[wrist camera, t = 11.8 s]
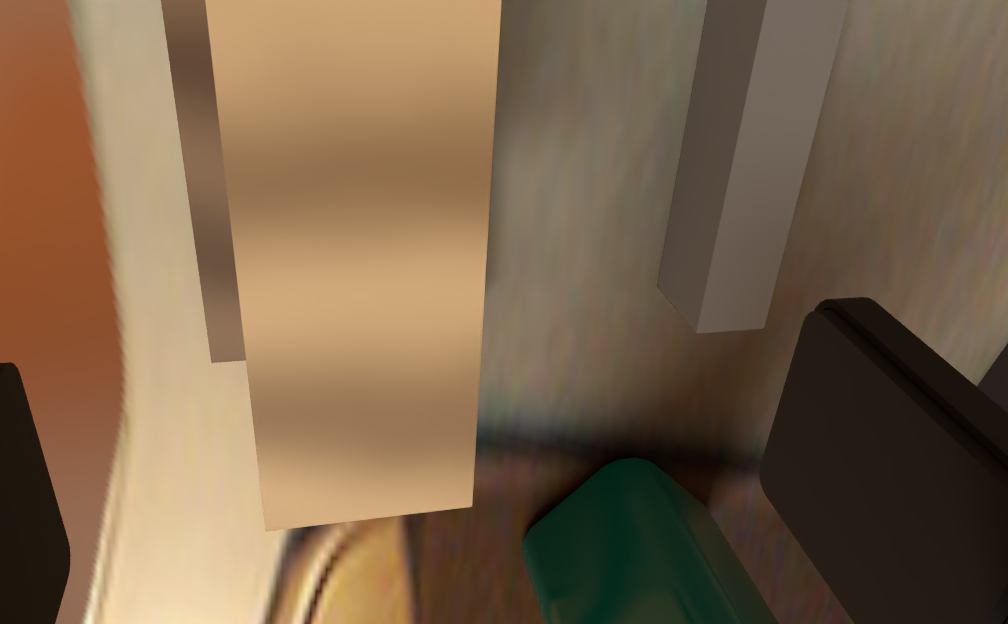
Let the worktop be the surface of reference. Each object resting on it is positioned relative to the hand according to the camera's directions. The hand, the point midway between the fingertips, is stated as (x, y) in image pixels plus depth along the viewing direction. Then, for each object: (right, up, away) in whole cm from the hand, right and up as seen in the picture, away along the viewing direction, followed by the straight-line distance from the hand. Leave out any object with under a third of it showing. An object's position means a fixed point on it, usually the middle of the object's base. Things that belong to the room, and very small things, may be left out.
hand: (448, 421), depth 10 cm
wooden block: (-3, +6, +11) cm, 13 cm away
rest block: (+9, +11, +21) cm, 26 cm away
